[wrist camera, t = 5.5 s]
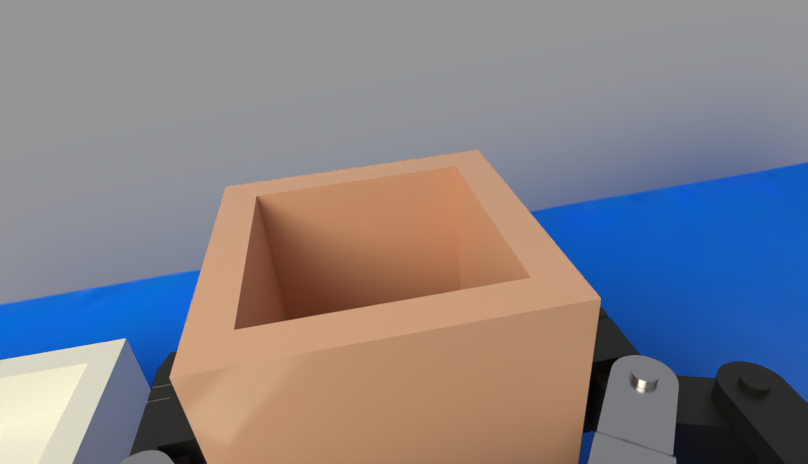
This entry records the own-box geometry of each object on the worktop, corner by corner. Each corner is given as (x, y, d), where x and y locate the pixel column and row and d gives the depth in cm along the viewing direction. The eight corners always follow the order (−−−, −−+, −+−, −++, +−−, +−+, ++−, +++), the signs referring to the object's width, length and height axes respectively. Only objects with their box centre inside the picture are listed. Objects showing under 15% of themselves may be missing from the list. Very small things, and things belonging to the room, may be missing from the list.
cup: (481, 412, 18) (477, 149, 13) (557, 613, 13) (601, 298, 8) (301, 448, 18) (225, 186, 13) (301, 677, 12) (169, 377, 7)
